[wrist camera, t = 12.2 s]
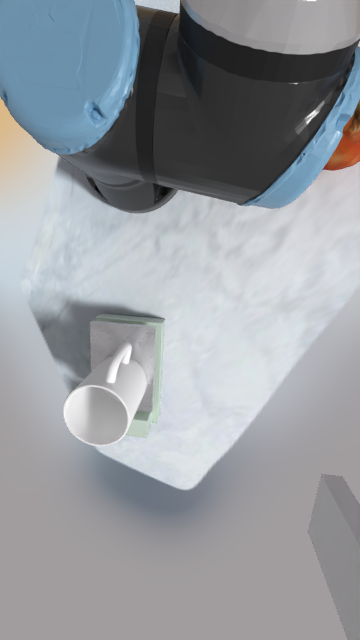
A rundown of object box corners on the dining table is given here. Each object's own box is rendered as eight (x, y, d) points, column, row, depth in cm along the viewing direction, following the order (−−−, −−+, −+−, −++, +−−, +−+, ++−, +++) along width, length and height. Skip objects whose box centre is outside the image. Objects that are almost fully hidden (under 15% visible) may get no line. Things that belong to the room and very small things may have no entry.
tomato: (285, 171, 38) (304, 150, 31) (307, 97, 36) (334, 54, 28) (349, 185, 38) (386, 168, 30) (376, 112, 36) (422, 72, 28)
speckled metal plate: (97, 317, 43) (90, 322, 40) (159, 323, 42) (155, 328, 39) (98, 395, 46) (91, 405, 43) (155, 402, 46) (151, 412, 43)
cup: (90, 392, 43) (56, 433, 33) (109, 324, 40) (77, 346, 30) (139, 409, 43) (119, 455, 33) (161, 342, 40) (146, 371, 30)
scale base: (101, 313, 46) (83, 323, 39) (165, 318, 45) (157, 330, 38) (102, 410, 50) (86, 435, 44) (159, 417, 50) (152, 443, 43)
